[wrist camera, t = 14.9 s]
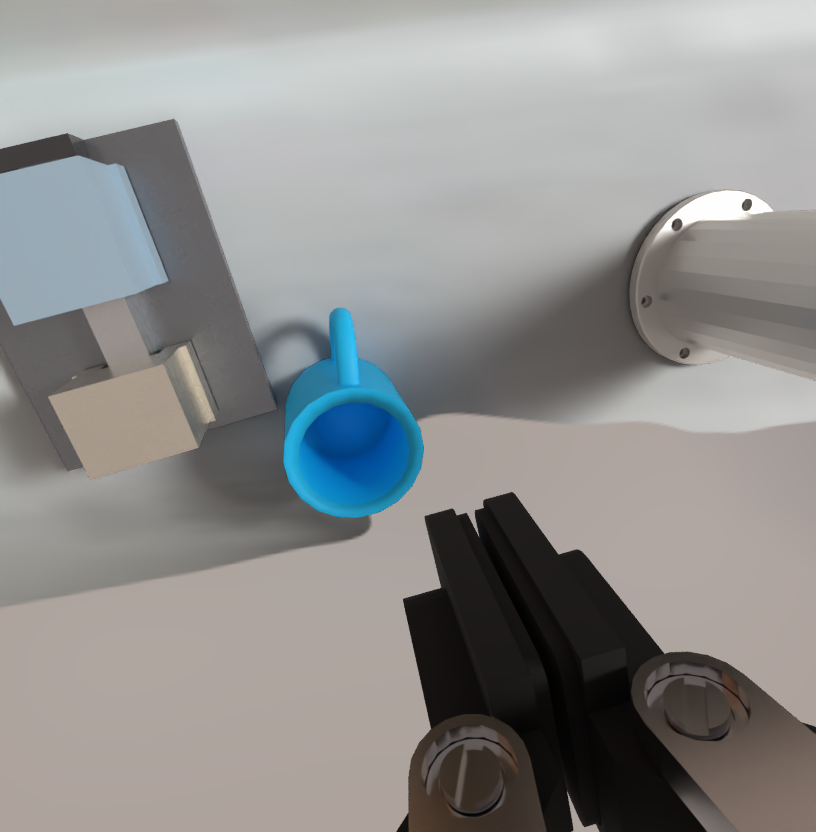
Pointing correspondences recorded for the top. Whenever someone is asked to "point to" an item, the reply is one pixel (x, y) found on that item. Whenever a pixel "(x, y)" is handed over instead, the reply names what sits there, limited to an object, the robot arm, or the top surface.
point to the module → (71, 239)
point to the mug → (349, 432)
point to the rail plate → (161, 303)
